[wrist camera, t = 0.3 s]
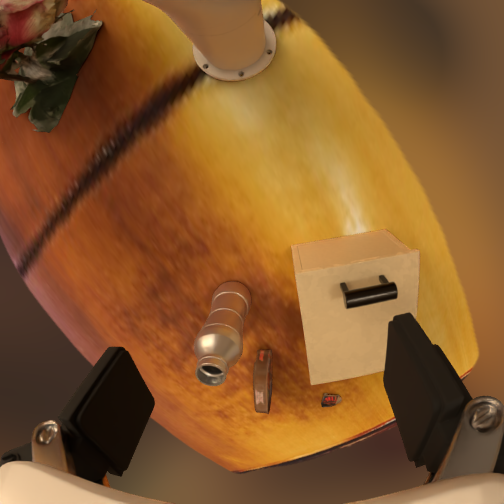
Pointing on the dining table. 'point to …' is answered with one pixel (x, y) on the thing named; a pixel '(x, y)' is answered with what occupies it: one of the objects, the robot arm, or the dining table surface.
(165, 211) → the dining table surface
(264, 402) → the tin
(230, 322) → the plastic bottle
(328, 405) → the matchbox
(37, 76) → the rose bouquet
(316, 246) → the bin
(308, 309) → the bin lid
